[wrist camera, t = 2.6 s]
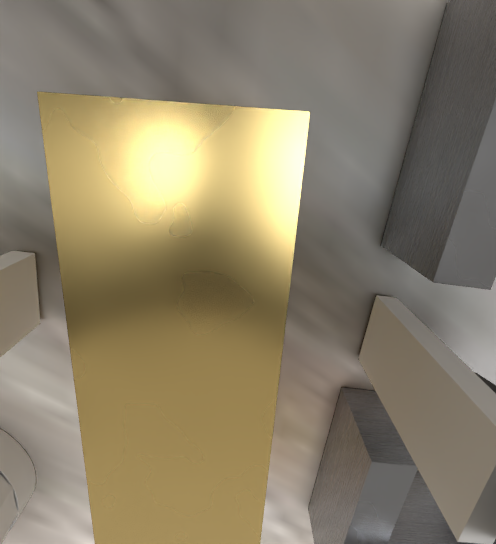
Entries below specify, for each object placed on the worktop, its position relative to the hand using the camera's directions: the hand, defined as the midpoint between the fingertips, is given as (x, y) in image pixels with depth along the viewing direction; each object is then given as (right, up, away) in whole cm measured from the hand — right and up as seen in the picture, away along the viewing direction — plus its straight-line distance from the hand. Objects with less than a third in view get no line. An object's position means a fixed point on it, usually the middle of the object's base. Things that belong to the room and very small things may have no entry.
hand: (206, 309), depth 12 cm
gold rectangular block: (0, 0, 0) cm, 0 cm away
